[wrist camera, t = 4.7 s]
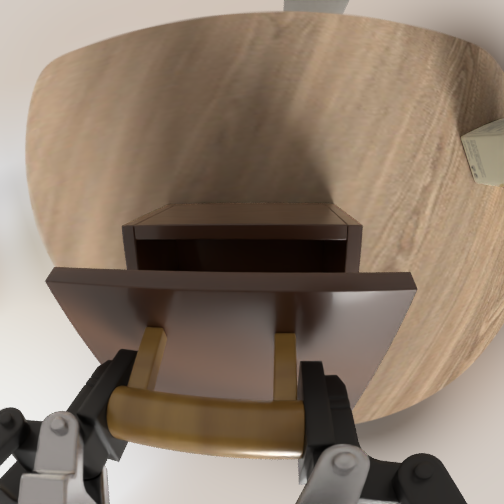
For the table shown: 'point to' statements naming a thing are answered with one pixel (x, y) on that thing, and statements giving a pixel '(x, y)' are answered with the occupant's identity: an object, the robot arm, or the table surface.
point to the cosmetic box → (486, 153)
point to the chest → (244, 238)
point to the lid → (229, 349)
